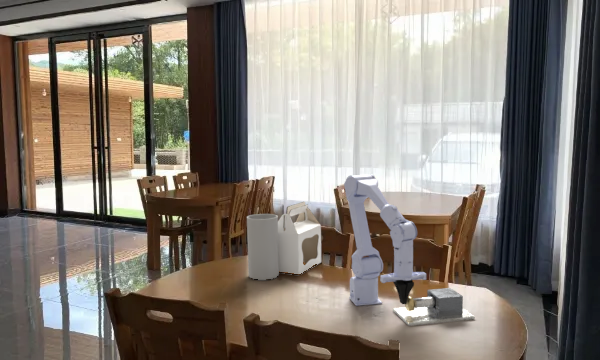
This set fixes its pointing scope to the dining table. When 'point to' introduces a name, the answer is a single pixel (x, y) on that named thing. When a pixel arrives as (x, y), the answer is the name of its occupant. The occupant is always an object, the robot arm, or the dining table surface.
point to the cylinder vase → (263, 246)
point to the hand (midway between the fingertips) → (403, 303)
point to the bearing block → (437, 309)
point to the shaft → (420, 302)
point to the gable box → (298, 240)
